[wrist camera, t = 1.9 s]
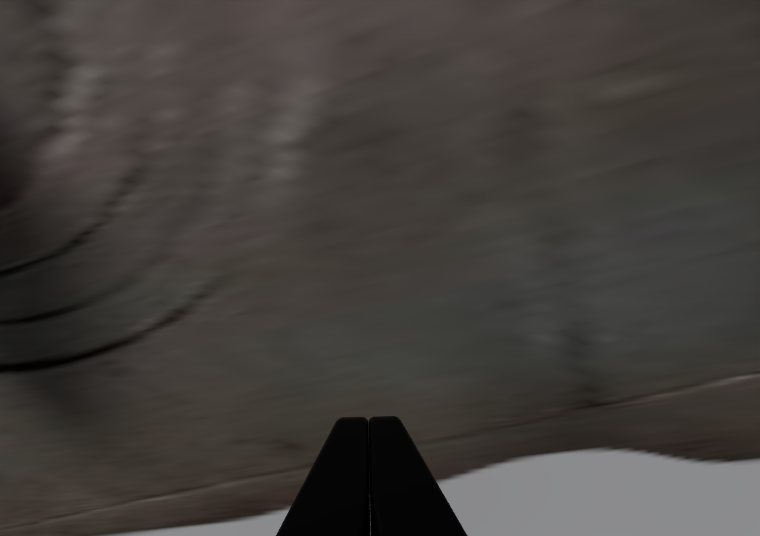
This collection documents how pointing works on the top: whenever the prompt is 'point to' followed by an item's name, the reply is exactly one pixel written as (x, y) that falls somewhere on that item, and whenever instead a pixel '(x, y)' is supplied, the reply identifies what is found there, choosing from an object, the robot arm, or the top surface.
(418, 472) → the robot arm
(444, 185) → the top surface
